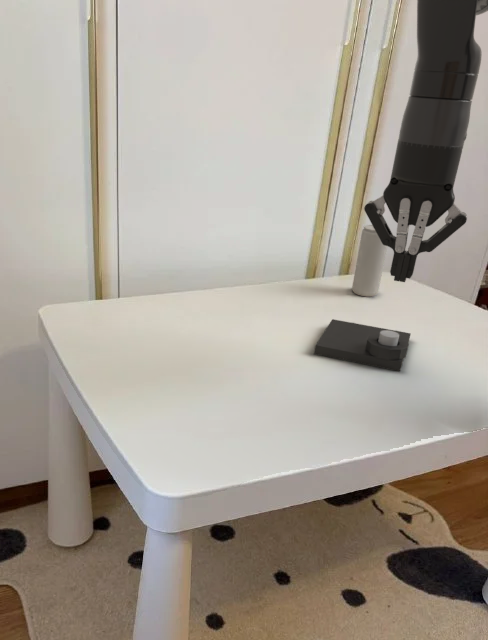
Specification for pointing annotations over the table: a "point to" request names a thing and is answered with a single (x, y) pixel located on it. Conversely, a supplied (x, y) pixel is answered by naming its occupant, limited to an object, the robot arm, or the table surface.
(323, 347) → the scale
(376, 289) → the beverage can
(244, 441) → the table surface
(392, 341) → the button
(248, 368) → the table surface
